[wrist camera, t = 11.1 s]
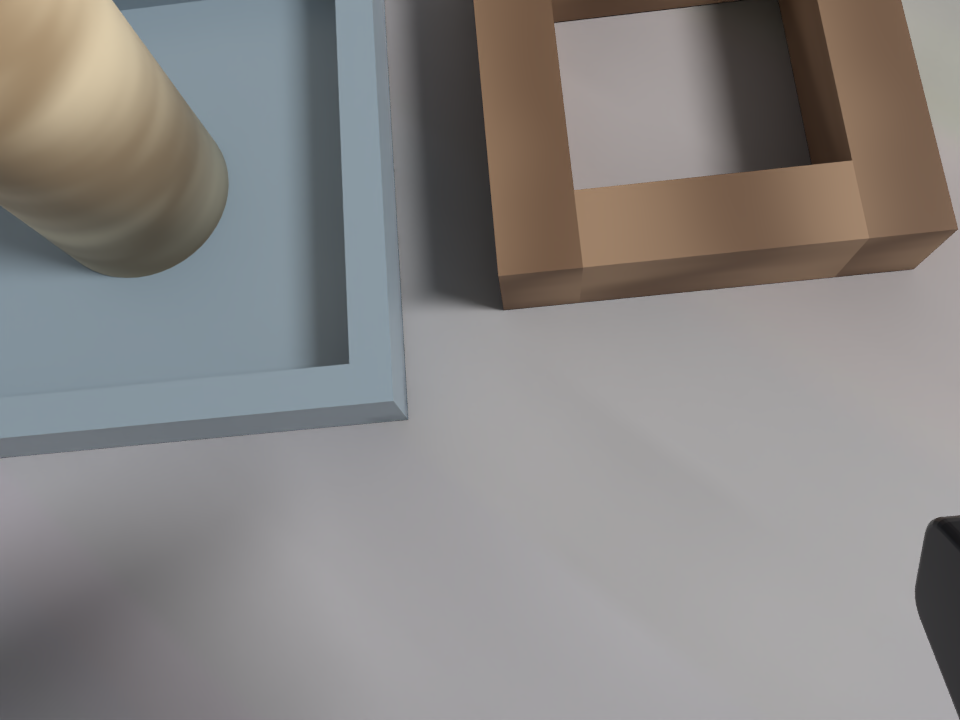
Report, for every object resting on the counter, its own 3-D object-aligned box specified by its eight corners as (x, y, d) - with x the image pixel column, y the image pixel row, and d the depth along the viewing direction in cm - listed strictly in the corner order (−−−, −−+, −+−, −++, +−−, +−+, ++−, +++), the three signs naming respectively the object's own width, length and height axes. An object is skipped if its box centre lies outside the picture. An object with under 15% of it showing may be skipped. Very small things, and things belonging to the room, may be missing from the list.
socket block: (503, 309, 23) (498, 276, 20) (472, -27, 26) (465, -92, 23) (913, 269, 22) (958, 229, 20) (835, -71, 25) (865, -142, 23)
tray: (-113, 468, 23) (-181, 455, 21) (-65, 19, 27) (-117, -31, 25) (408, 419, 22) (393, 400, 20) (382, -36, 26) (367, -92, 24)
